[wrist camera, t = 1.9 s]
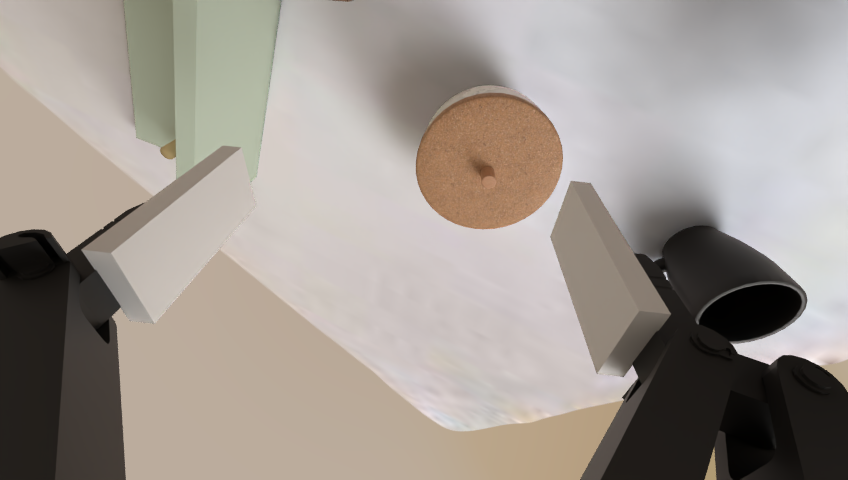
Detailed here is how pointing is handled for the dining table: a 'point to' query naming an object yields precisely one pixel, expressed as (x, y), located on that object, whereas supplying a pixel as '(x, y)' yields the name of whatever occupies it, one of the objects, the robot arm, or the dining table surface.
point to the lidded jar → (488, 158)
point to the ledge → (201, 75)
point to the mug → (730, 285)
